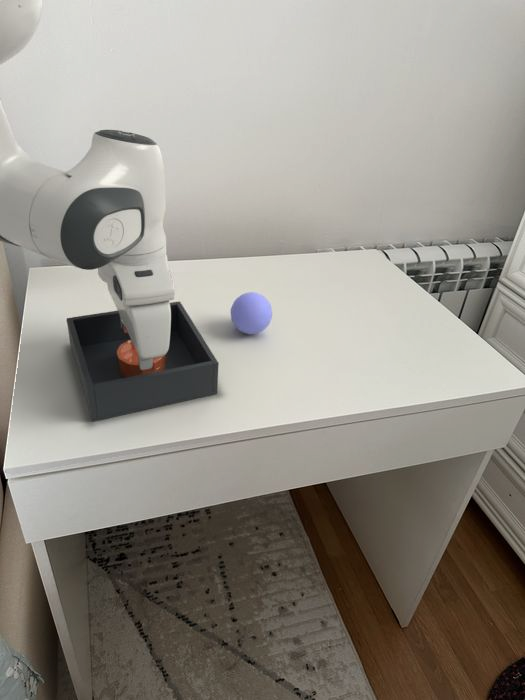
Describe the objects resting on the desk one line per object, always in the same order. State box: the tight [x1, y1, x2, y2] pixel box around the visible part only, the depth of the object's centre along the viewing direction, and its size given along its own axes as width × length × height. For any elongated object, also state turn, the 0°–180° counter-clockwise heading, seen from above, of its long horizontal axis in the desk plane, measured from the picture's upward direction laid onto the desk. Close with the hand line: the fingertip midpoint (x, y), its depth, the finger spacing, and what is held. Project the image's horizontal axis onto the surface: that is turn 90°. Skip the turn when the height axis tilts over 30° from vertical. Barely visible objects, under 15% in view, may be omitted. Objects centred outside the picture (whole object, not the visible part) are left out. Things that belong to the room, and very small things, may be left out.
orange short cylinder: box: [117, 340, 166, 378], centre depth 79 cm, size 7×7×3 cm
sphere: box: [230, 291, 273, 335], centre depth 89 cm, size 7×7×7 cm
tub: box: [66, 301, 219, 423], centre depth 78 cm, size 18×18×6 cm
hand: (136, 347), depth 78 cm, fingers open, 8 cm apart
